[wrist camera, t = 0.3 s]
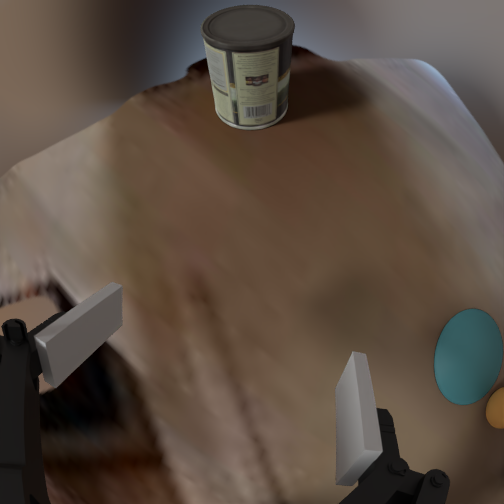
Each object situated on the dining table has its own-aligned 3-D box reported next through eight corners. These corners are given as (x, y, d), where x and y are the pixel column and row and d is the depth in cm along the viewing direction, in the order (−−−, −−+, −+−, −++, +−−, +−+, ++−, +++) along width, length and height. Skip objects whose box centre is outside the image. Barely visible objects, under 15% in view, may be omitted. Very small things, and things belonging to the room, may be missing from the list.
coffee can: (258, 73, 42) (256, -3, 29) (302, 109, 40) (314, 28, 26) (200, 101, 41) (183, 22, 27) (242, 143, 38) (235, 56, 25)
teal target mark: (492, 405, 27) (493, 405, 27) (423, 401, 28) (424, 402, 28) (506, 316, 30) (507, 316, 30) (442, 300, 31) (443, 300, 31)
